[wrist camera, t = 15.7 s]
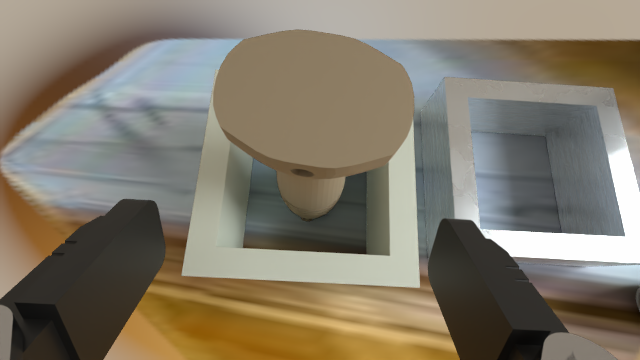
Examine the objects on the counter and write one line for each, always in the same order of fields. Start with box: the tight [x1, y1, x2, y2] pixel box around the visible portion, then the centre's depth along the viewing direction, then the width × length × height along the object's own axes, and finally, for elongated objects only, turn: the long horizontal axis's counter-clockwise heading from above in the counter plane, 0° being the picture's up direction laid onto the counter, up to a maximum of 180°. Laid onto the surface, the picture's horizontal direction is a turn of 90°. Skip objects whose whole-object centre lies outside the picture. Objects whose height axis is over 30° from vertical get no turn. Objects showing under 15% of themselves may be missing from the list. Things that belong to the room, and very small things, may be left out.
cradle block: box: [181, 70, 420, 288], centre depth 21 cm, size 12×12×7 cm
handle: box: [213, 30, 414, 221], centre depth 18 cm, size 5×6×15 cm
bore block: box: [420, 77, 640, 267], centre depth 23 cm, size 12×12×5 cm
